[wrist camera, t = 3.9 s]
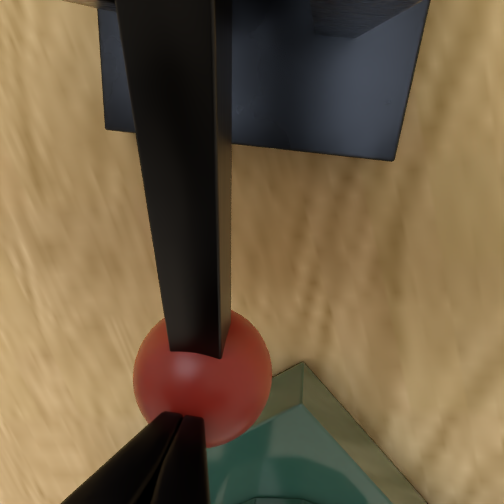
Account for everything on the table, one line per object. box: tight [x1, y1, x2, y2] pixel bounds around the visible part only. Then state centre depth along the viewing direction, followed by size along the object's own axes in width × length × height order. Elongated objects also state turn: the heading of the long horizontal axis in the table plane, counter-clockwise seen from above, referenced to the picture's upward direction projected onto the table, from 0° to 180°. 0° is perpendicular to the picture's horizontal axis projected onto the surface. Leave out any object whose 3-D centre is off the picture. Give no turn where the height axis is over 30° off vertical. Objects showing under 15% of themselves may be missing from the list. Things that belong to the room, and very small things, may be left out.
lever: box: [115, 0, 272, 448], centre depth 7 cm, size 13×3×3 cm, turn 175°
